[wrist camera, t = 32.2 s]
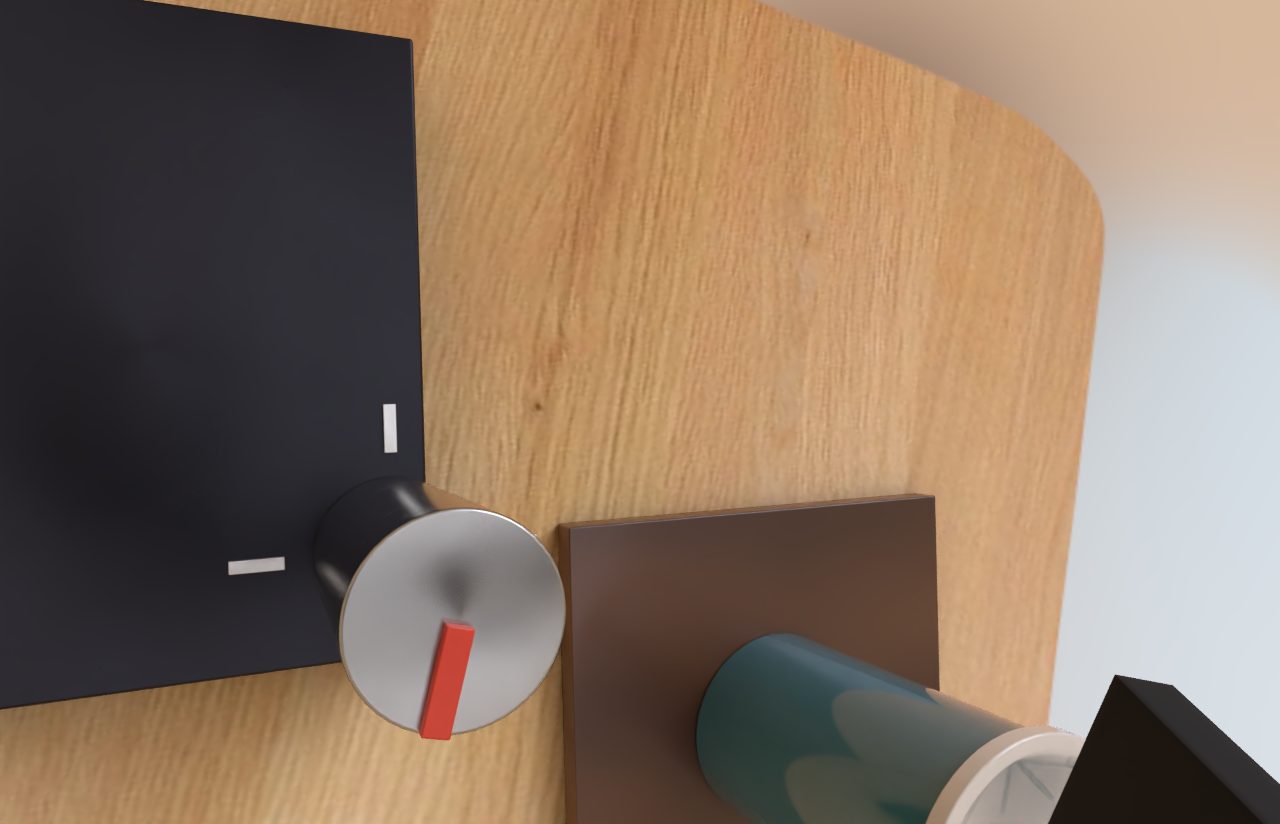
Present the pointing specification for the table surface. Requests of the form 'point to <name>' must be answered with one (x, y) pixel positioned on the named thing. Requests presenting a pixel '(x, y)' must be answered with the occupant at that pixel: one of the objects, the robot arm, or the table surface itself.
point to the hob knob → (437, 605)
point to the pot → (866, 745)
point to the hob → (193, 334)
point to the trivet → (721, 630)
